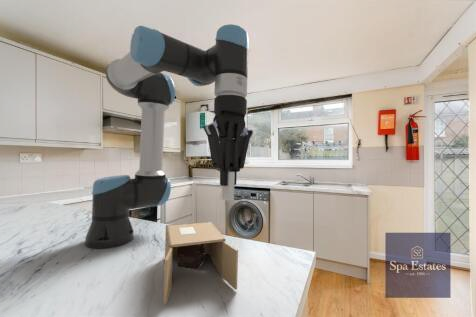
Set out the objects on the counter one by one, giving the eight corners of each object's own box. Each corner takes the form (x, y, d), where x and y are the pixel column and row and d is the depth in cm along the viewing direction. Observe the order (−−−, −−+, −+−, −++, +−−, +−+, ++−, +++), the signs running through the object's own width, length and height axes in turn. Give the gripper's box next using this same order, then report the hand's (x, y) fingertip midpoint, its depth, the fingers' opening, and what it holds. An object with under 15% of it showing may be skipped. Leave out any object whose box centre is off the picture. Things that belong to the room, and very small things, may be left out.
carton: (164, 258, 66) (165, 225, 66) (210, 252, 71) (210, 221, 71) (167, 287, 51) (168, 244, 51) (224, 277, 56) (225, 238, 56)
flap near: (171, 286, 51) (172, 248, 51) (166, 303, 45) (167, 260, 45) (168, 286, 51) (169, 248, 51) (163, 304, 45) (164, 260, 45)
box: (197, 270, 59) (197, 243, 59) (176, 268, 61) (177, 241, 61) (204, 260, 65) (205, 236, 65) (186, 258, 67) (186, 234, 67)
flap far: (235, 289, 50) (236, 250, 50) (222, 277, 55) (223, 242, 55) (237, 289, 50) (238, 250, 50) (224, 277, 55) (225, 241, 55)
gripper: (217, 87, 43) (213, 206, 43) (261, 100, 52) (259, 199, 52) (197, 95, 49) (194, 199, 49) (241, 105, 57) (238, 194, 57)
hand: (227, 199), depth 50 cm, fingers closed
